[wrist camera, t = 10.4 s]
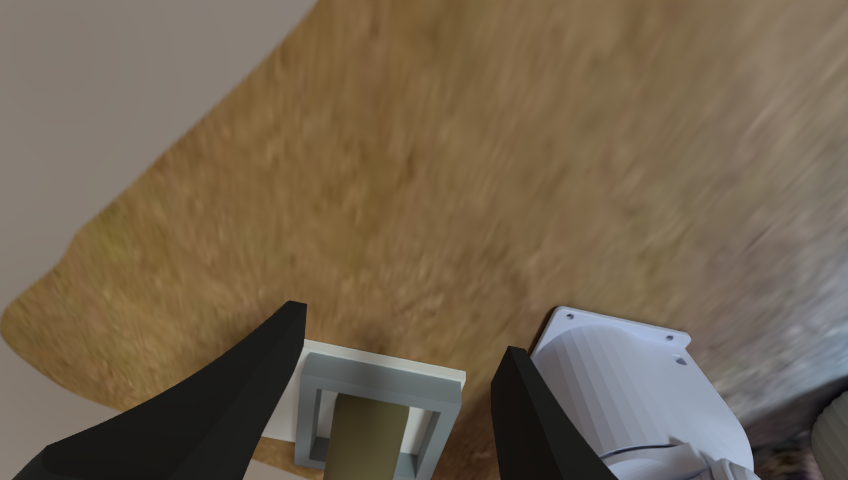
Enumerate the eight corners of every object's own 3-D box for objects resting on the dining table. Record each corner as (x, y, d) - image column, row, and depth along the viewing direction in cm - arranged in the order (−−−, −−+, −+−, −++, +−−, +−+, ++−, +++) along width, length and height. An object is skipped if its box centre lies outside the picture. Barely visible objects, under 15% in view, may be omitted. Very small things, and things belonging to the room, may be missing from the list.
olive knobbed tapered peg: (387, 439, 32) (360, 614, 22) (323, 412, 31) (266, 586, 21) (424, 401, 29) (411, 583, 20) (355, 370, 28) (306, 548, 18)
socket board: (465, 371, 28) (467, 403, 26) (430, 458, 34) (429, 491, 32) (256, 329, 27) (237, 358, 25) (257, 426, 33) (242, 457, 31)
